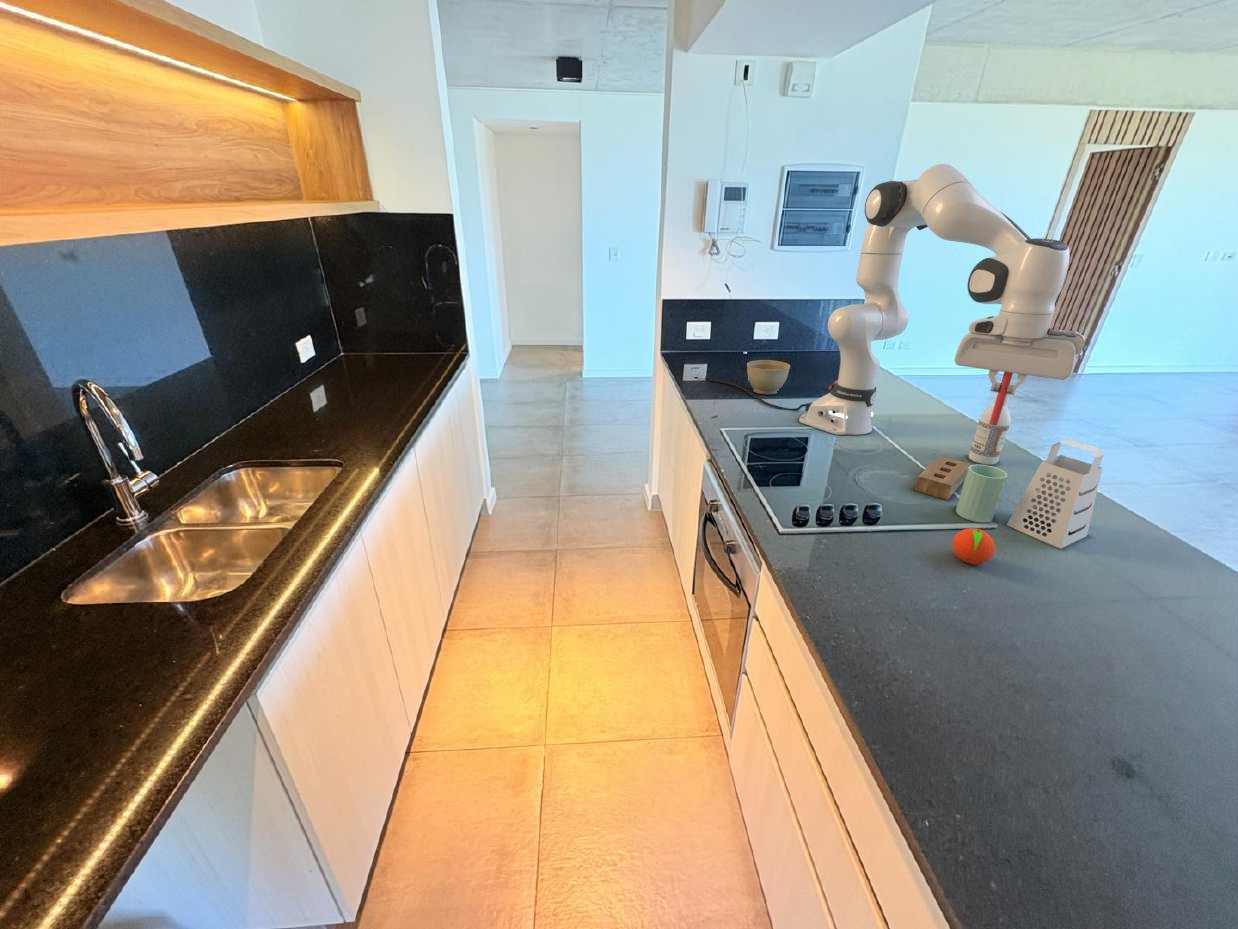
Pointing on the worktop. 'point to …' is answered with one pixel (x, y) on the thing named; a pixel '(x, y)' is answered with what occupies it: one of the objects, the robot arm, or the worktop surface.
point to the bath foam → (990, 436)
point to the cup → (981, 493)
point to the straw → (1000, 398)
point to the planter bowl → (767, 375)
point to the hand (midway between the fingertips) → (1002, 392)
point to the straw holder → (942, 477)
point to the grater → (1060, 496)
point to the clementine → (973, 546)
